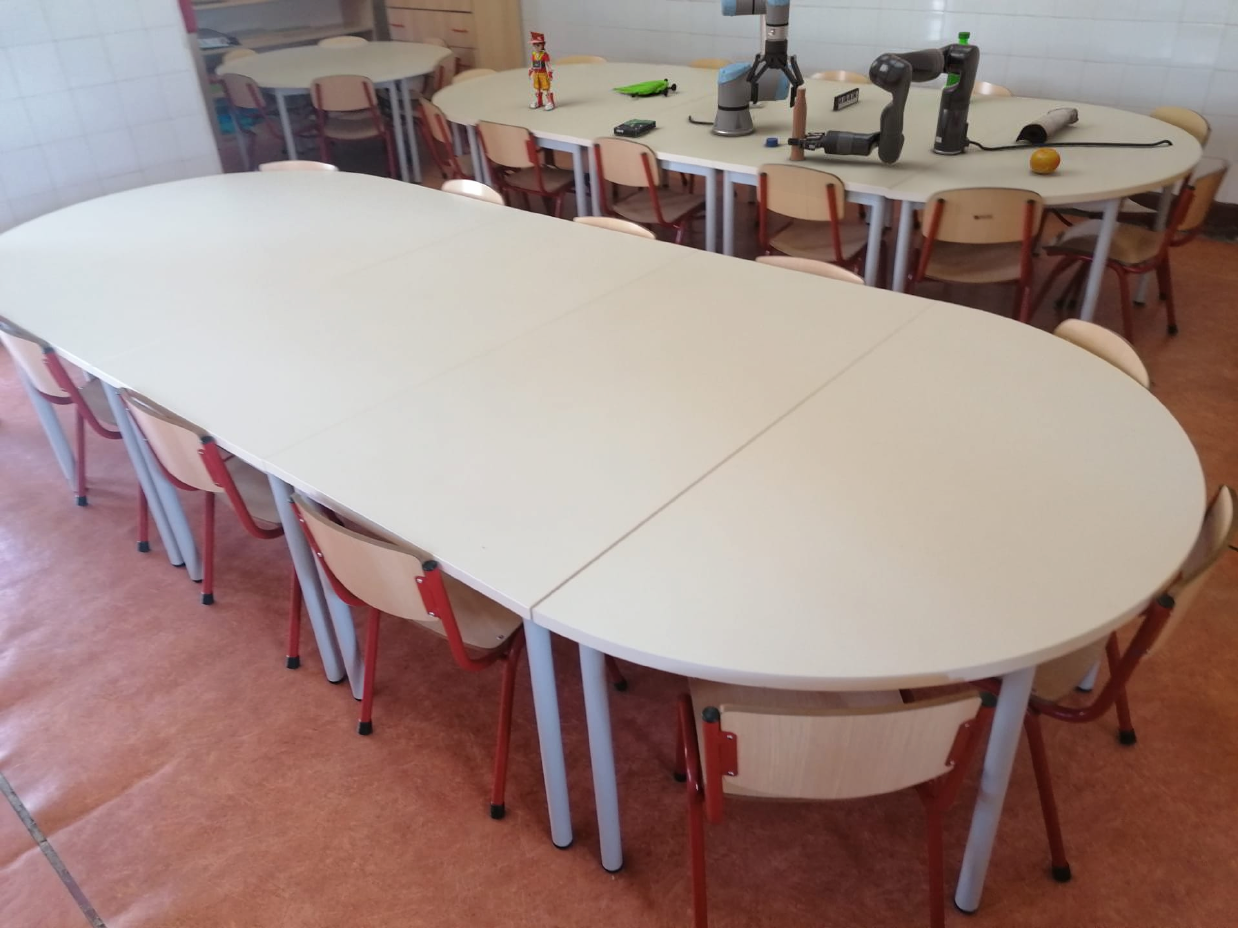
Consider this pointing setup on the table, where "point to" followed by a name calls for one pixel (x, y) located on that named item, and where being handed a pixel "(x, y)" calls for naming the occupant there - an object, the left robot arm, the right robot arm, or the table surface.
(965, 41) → the plastic bottle
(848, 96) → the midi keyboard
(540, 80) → the toy
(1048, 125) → the rolled mat
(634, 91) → the toy
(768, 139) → the cap
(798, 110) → the bottle
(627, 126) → the disk drive
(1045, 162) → the fruit
